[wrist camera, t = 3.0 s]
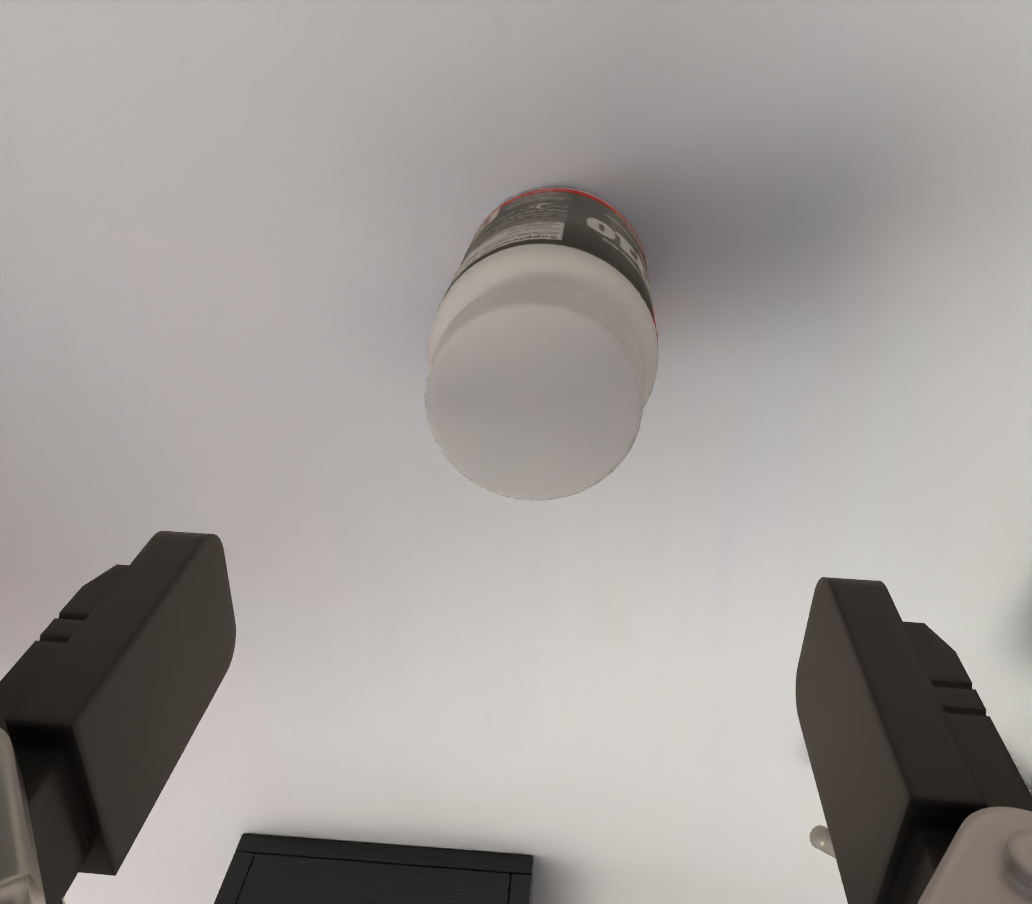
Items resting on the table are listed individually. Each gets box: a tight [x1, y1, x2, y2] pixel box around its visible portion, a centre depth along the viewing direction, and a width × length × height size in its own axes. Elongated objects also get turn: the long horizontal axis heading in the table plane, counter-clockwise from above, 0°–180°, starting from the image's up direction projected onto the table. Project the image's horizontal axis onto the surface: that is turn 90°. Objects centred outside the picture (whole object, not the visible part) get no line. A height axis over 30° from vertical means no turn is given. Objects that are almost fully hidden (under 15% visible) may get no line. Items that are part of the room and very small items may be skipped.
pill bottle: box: [425, 187, 658, 500], centre depth 20 cm, size 5×5×8 cm
